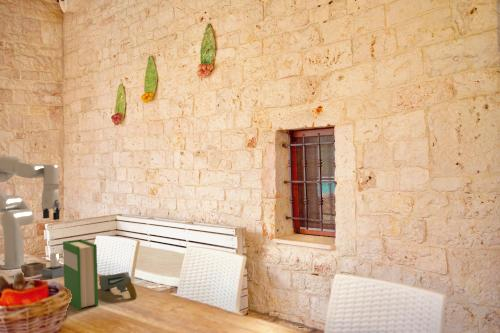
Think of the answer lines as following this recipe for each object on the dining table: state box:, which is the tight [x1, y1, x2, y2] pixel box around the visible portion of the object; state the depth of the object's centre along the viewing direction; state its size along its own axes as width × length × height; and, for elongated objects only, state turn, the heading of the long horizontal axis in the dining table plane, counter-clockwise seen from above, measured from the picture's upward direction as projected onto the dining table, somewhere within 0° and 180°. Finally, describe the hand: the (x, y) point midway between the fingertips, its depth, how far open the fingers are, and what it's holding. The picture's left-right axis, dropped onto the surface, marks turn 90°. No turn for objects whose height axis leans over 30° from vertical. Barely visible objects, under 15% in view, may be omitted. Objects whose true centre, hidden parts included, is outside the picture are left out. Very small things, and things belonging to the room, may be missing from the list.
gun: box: [98, 271, 137, 300], centre depth 182 cm, size 3×25×15 cm, turn 50°
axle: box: [49, 252, 60, 270], centre depth 215 cm, size 4×4×11 cm
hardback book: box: [62, 239, 99, 311], centre depth 170 cm, size 18×7×24 cm, turn 40°
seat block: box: [41, 264, 64, 280], centre depth 215 cm, size 9×9×4 cm
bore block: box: [20, 261, 47, 278], centre depth 220 cm, size 8×8×5 cm
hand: (51, 218), depth 229 cm, fingers open, 9 cm apart
